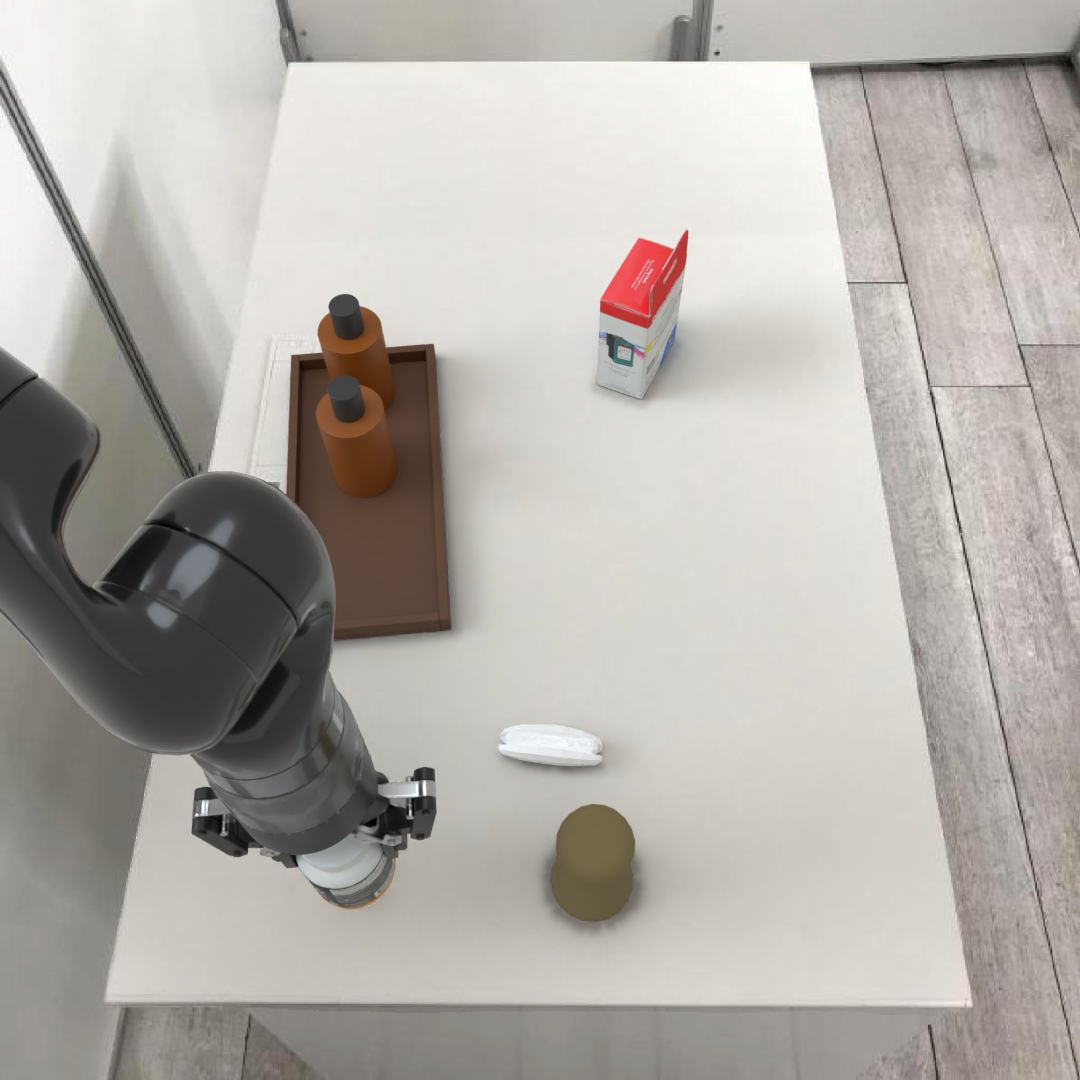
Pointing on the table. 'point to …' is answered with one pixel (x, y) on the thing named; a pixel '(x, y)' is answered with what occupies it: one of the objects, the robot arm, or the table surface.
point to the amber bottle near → (356, 438)
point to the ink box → (640, 316)
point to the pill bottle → (349, 873)
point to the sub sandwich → (551, 745)
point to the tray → (378, 504)
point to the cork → (593, 863)
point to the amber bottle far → (356, 346)
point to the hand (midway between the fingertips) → (342, 847)
